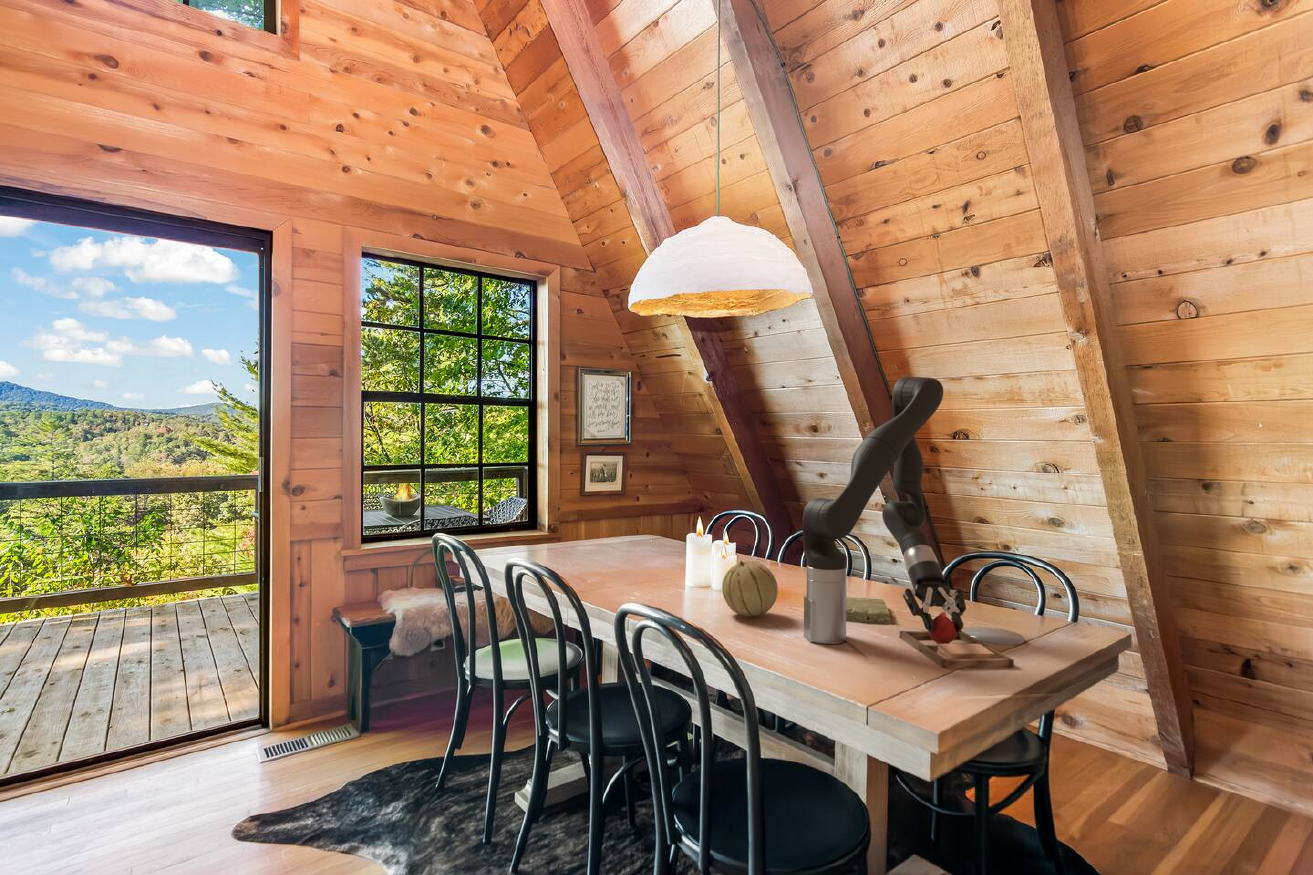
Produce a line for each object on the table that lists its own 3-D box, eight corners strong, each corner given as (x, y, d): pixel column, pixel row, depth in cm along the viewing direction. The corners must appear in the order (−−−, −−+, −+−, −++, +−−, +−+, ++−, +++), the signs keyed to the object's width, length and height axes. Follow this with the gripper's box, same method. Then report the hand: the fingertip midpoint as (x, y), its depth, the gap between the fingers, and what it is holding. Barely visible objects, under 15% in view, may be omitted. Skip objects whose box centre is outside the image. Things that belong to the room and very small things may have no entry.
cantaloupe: (788, 616, 187) (789, 560, 187) (754, 626, 177) (755, 567, 177) (744, 606, 197) (745, 553, 197) (710, 615, 187) (711, 559, 187)
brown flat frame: (943, 670, 144) (943, 660, 144) (899, 639, 166) (899, 631, 166) (1013, 669, 145) (1013, 659, 145) (960, 638, 167) (960, 630, 167)
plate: (981, 646, 161) (981, 642, 161) (953, 631, 174) (953, 627, 174) (1035, 646, 161) (1035, 641, 161) (1004, 630, 174) (1004, 626, 174)
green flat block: (811, 605, 202) (811, 592, 202) (883, 608, 198) (883, 596, 198) (812, 621, 184) (812, 607, 184) (892, 626, 180) (892, 612, 180)
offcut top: (951, 659, 147) (951, 653, 147) (938, 649, 154) (938, 643, 154) (994, 659, 146) (994, 653, 146) (979, 649, 153) (979, 643, 153)
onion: (942, 651, 157) (942, 616, 157) (923, 644, 162) (923, 610, 162) (961, 648, 159) (961, 613, 159) (941, 641, 164) (942, 607, 164)
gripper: (899, 559, 168) (920, 622, 156) (957, 559, 168) (982, 621, 157) (890, 577, 173) (910, 639, 161) (946, 576, 174) (970, 638, 162)
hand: (945, 630), depth 159 cm, fingers closed on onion, 5 cm apart
